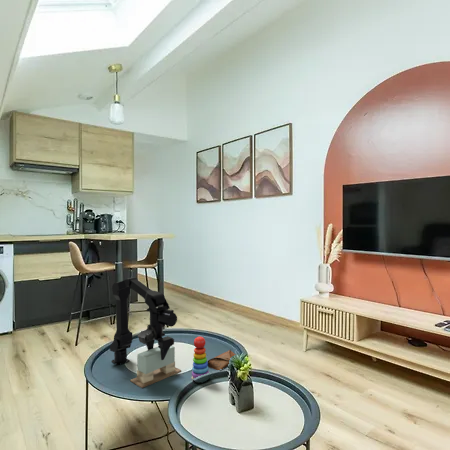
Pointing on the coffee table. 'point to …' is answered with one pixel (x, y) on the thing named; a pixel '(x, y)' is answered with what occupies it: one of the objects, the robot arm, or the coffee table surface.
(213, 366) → the sunglasses case
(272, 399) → the coffee table surface
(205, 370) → the stacking toy
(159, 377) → the bridge base
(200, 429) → the coffee table surface
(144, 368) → the lintel
